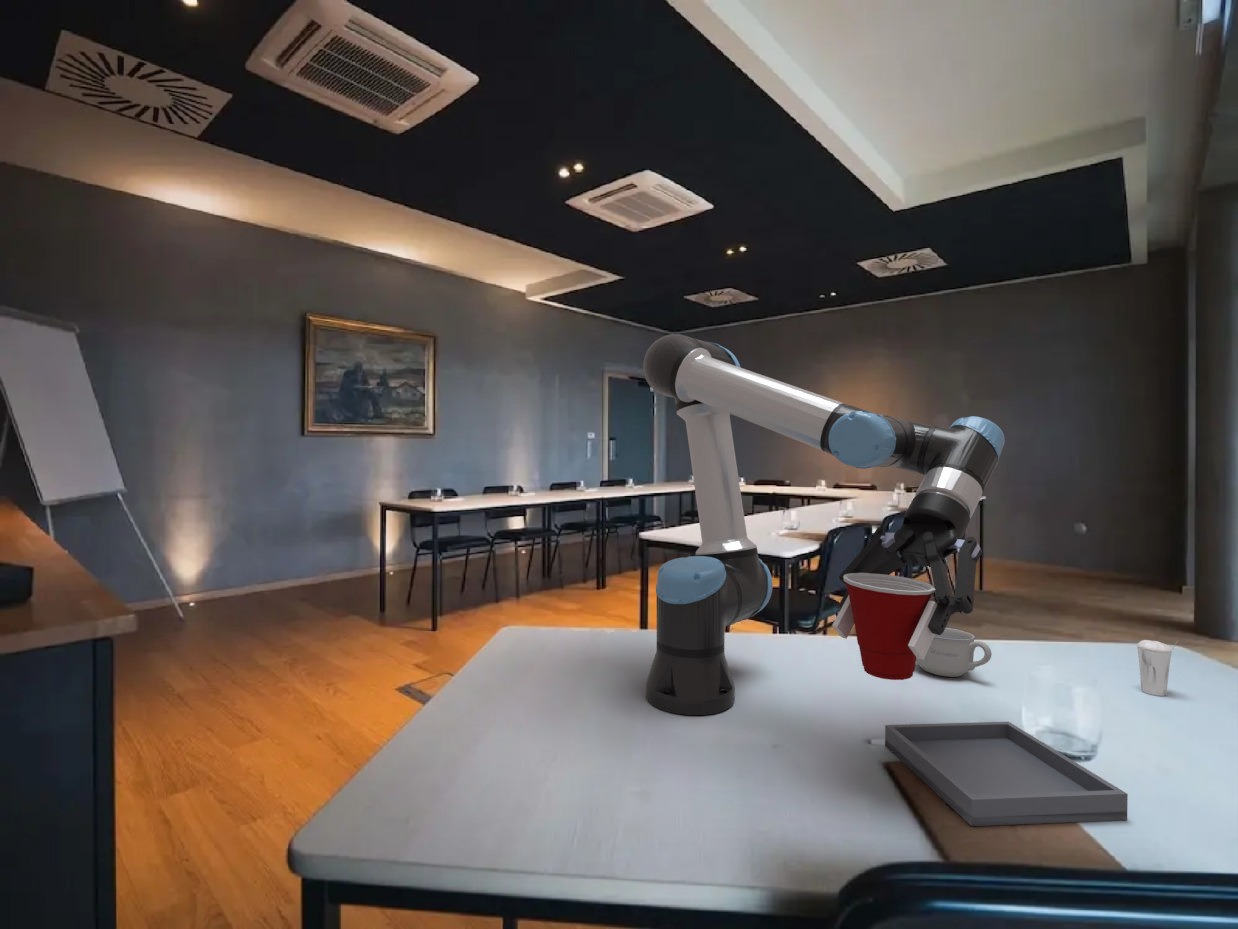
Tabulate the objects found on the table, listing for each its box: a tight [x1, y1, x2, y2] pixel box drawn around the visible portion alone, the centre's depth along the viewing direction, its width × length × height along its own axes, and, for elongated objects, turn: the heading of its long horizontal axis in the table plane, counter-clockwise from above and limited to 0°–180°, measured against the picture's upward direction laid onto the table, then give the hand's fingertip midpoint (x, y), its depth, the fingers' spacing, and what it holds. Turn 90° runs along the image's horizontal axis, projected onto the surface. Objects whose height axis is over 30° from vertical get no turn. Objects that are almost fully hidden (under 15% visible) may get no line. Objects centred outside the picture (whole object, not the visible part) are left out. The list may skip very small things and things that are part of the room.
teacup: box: [916, 627, 992, 678], centre depth 113 cm, size 14×11×8 cm
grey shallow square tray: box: [884, 721, 1129, 827], centre depth 76 cm, size 19×19×3 cm
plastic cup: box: [843, 573, 936, 681], centre depth 75 cm, size 11×11×12 cm
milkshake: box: [1136, 639, 1179, 697], centre depth 104 cm, size 4×5×10 cm
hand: (875, 642), depth 73 cm, fingers closed on plastic cup, 10 cm apart
